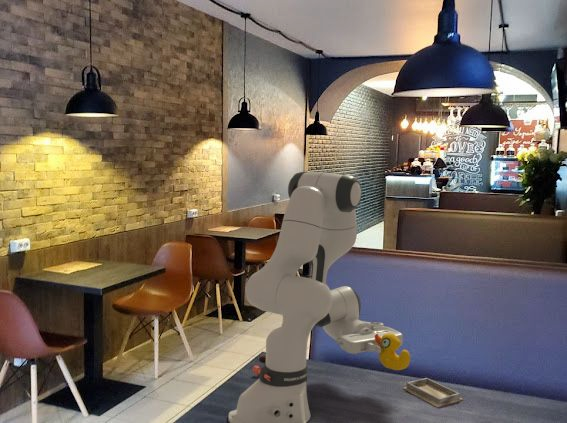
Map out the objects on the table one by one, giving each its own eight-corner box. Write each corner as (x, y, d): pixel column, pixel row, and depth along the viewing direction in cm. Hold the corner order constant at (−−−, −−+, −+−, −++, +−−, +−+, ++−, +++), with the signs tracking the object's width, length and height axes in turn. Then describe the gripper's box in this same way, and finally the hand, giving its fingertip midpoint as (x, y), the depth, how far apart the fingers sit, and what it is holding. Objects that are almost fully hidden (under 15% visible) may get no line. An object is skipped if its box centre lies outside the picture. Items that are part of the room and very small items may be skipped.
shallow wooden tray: (437, 407, 161) (437, 400, 160) (403, 388, 173) (403, 382, 173) (463, 400, 166) (463, 393, 166) (427, 382, 178) (428, 376, 178)
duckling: (368, 364, 163) (370, 331, 162) (377, 360, 167) (380, 327, 166) (403, 376, 156) (406, 341, 155) (412, 371, 160) (415, 337, 159)
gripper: (332, 329, 168) (361, 343, 156) (385, 322, 178) (415, 334, 166) (331, 350, 168) (360, 365, 157) (384, 341, 179) (414, 354, 167)
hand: (389, 349), depth 162 cm, fingers closed on duckling, 4 cm apart
